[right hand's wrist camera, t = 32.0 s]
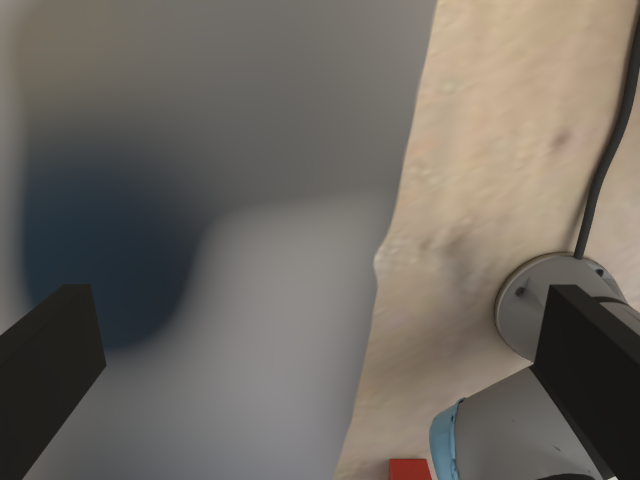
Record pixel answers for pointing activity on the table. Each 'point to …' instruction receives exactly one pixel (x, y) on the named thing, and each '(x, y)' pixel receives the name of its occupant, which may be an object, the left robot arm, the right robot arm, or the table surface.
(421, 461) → the brick
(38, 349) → the right robot arm
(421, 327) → the table surface
